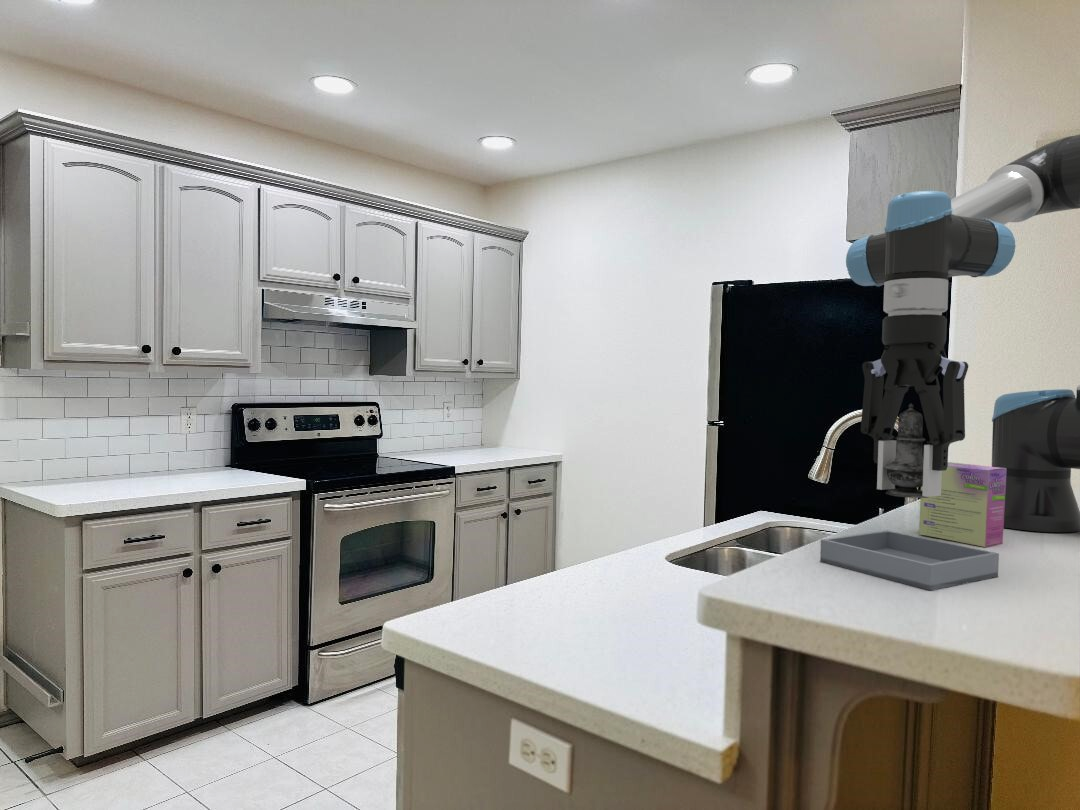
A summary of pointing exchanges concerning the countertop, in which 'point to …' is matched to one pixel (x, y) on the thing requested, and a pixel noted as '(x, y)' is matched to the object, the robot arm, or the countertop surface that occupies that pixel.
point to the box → (966, 506)
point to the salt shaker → (908, 456)
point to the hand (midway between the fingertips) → (908, 491)
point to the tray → (910, 559)
